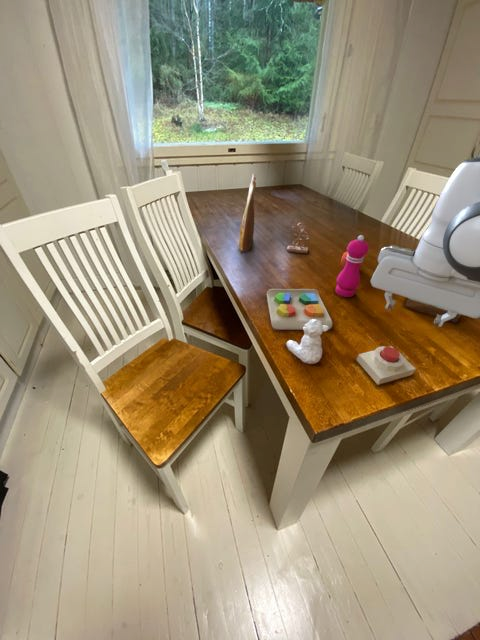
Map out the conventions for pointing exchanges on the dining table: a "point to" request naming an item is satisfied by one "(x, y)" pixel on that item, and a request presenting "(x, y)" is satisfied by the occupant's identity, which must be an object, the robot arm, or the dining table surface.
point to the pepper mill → (352, 268)
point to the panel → (429, 309)
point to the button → (390, 354)
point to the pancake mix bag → (248, 219)
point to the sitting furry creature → (309, 342)
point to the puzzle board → (296, 308)
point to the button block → (384, 366)
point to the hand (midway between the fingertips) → (411, 316)
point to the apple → (344, 260)
